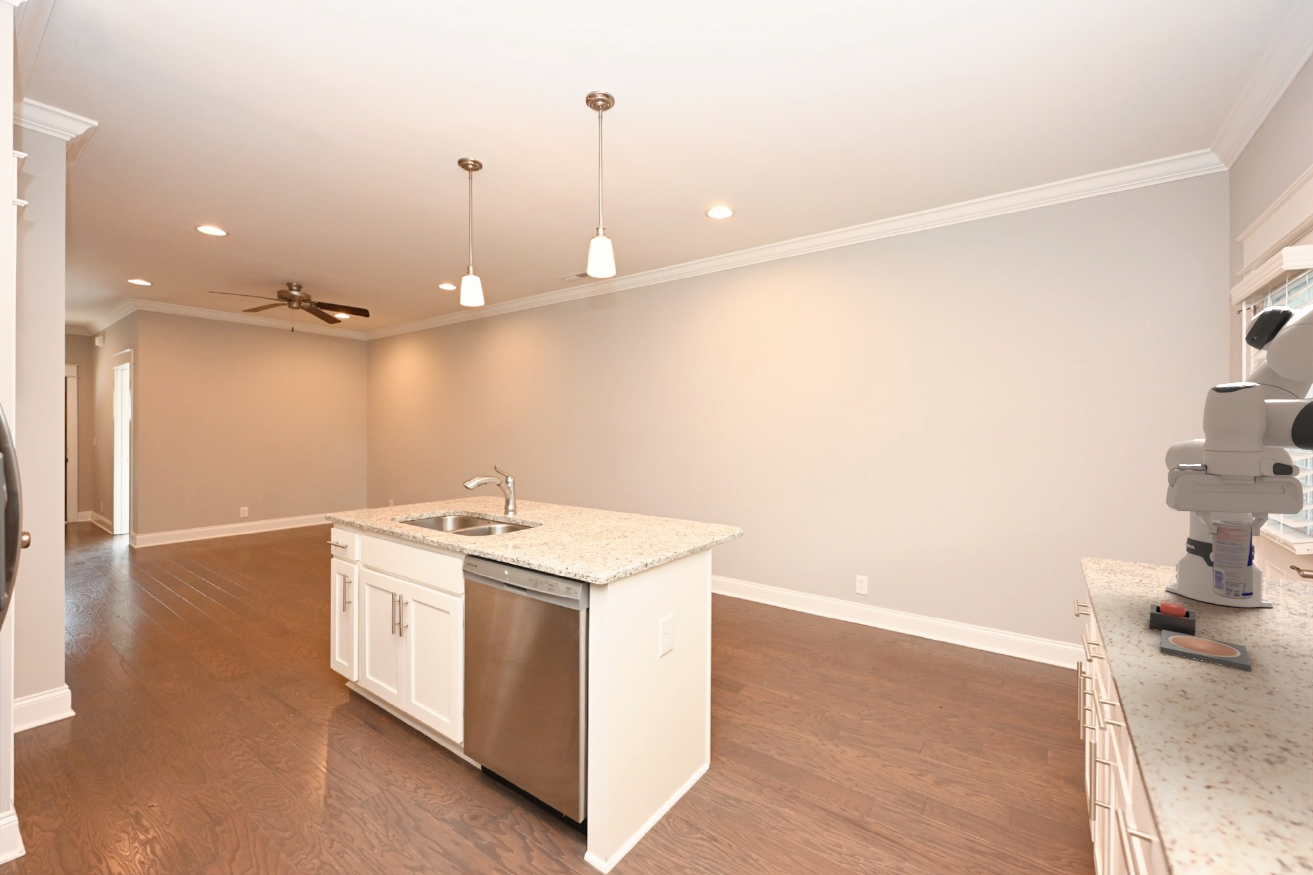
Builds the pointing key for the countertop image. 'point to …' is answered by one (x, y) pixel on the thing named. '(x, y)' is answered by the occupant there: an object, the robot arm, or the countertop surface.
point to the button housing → (1172, 621)
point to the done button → (1172, 609)
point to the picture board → (1205, 649)
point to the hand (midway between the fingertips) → (1230, 534)
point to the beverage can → (1232, 559)
